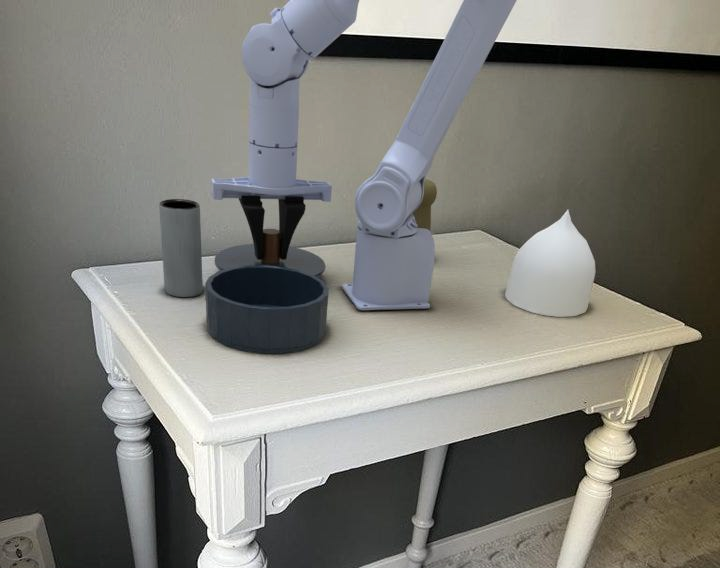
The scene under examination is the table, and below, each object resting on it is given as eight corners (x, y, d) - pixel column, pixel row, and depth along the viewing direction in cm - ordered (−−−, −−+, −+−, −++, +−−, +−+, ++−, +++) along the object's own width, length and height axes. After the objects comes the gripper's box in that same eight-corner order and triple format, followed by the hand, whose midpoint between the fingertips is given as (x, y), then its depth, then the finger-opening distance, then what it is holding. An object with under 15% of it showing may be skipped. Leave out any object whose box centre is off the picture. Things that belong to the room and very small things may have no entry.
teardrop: (605, 311, 97) (632, 218, 90) (543, 321, 92) (567, 224, 85) (548, 282, 105) (569, 195, 98) (488, 290, 100) (505, 199, 93)
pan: (310, 305, 90) (312, 264, 87) (338, 351, 79) (342, 307, 77) (200, 307, 86) (199, 265, 83) (215, 356, 76) (214, 310, 73)
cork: (387, 249, 111) (396, 172, 105) (426, 252, 111) (437, 175, 105) (392, 262, 106) (401, 182, 100) (433, 265, 107) (445, 186, 100)
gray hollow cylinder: (193, 299, 87) (189, 211, 82) (158, 293, 88) (152, 205, 82) (208, 288, 91) (206, 202, 85) (174, 282, 92) (169, 196, 86)
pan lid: (310, 251, 103) (312, 215, 100) (337, 288, 92) (340, 249, 89) (208, 251, 99) (207, 214, 96) (223, 290, 88) (222, 249, 85)
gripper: (324, 138, 92) (317, 247, 100) (207, 133, 88) (209, 247, 95) (339, 151, 86) (331, 264, 94) (214, 146, 82) (217, 265, 90)
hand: (270, 257), depth 94 cm, fingers closed on pan lid, 2 cm apart
